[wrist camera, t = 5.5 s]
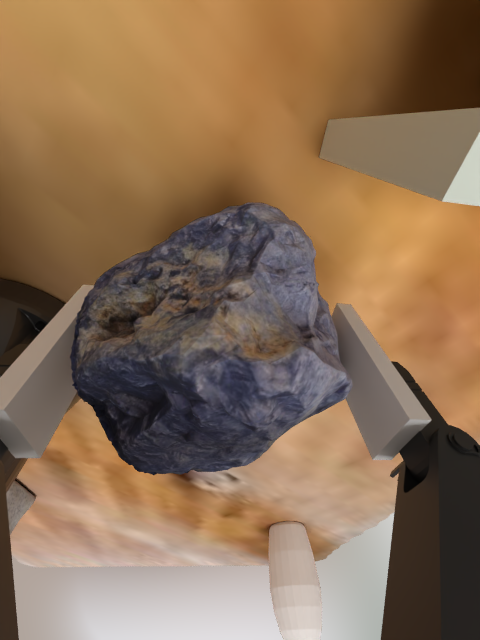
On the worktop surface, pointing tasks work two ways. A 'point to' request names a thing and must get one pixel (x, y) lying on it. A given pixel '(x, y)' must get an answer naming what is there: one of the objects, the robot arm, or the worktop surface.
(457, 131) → the frame
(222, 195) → the worktop surface
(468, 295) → the worktop surface
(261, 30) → the worktop surface
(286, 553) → the bottle
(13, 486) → the decorative stone
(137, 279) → the rock
